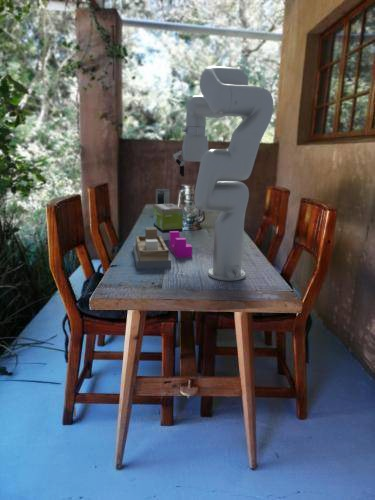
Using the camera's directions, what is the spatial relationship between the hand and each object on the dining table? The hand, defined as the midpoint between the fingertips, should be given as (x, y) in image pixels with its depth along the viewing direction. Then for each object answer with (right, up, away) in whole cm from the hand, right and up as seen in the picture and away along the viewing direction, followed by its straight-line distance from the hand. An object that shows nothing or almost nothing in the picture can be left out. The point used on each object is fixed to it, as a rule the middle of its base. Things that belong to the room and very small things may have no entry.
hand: (194, 176), depth 161 cm
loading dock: (-17, -33, -7) cm, 37 cm away
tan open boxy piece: (-16, -30, -9) cm, 35 cm away
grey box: (-16, -30, -15) cm, 37 cm away
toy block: (-6, -31, +3) cm, 31 cm away
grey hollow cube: (-15, -7, +92) cm, 93 cm away
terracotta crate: (-53, -97, +13) cm, 112 cm away
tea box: (-12, -23, +30) cm, 40 cm away
